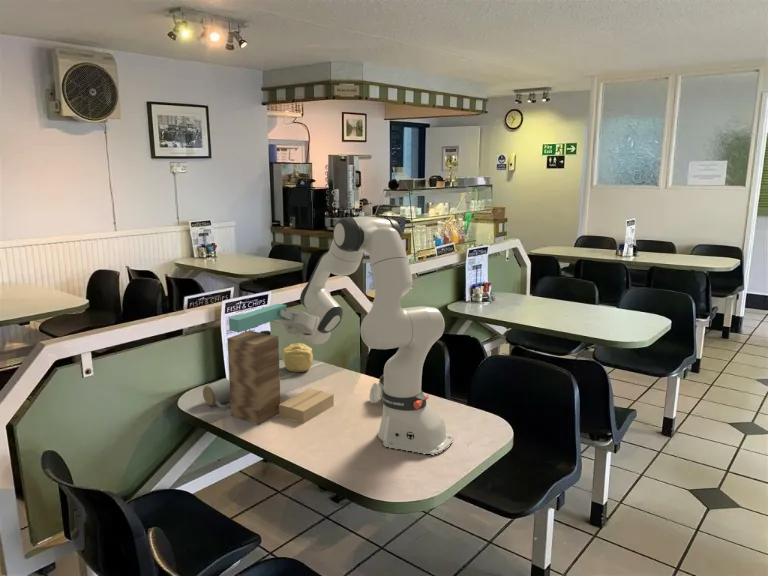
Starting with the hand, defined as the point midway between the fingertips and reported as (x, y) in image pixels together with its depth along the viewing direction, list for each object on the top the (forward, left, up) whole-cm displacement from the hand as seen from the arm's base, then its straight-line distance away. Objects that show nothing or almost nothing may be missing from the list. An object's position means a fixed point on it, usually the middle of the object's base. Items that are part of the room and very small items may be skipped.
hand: (273, 310), depth 190 cm
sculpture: (+15, -30, -33) cm, 47 cm away
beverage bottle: (+15, -12, -33) cm, 38 cm away
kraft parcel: (-12, -1, -32) cm, 35 cm away
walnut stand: (0, +10, -32) cm, 34 cm away
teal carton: (0, +7, -2) cm, 7 cm away
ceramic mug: (+16, +9, -33) cm, 38 cm away
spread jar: (-31, -21, -33) cm, 50 cm away
